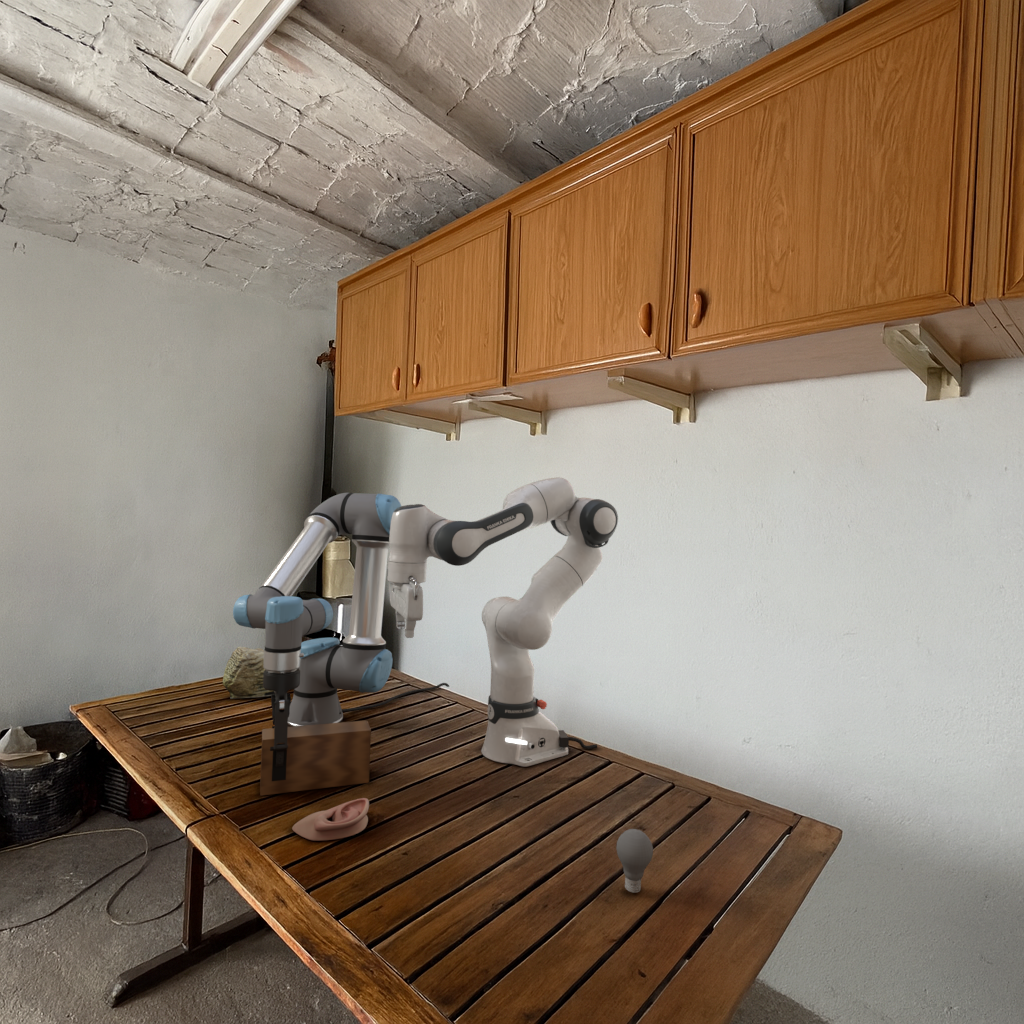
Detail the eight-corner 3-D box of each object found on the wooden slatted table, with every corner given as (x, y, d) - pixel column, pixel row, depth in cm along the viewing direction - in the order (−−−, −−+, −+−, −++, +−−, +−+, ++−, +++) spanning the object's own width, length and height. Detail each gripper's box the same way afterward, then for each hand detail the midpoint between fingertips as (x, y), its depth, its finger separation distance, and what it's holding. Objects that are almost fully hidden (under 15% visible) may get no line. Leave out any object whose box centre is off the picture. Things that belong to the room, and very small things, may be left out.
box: (260, 795, 133) (262, 739, 133) (260, 782, 139) (262, 729, 139) (368, 782, 141) (371, 730, 141) (364, 770, 147) (366, 720, 147)
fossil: (218, 695, 195) (220, 647, 195) (278, 685, 208) (279, 640, 207) (228, 703, 189) (230, 653, 188) (289, 692, 201) (290, 645, 201)
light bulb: (610, 879, 108) (613, 822, 108) (644, 879, 109) (647, 822, 109) (619, 902, 102) (622, 840, 102) (655, 901, 103) (658, 840, 103)
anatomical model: (284, 814, 117) (315, 787, 129) (283, 836, 118) (314, 807, 129) (350, 825, 115) (376, 796, 126) (349, 847, 115) (375, 816, 126)
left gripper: (303, 684, 127) (299, 789, 127) (297, 654, 150) (293, 743, 150) (263, 686, 124) (258, 794, 124) (263, 656, 147) (259, 746, 147)
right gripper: (431, 579, 139) (428, 642, 139) (411, 568, 158) (408, 623, 158) (402, 579, 137) (400, 643, 137) (385, 568, 156) (383, 624, 156)
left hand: (278, 766), depth 137 cm, fingers open, 13 cm apart
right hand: (404, 632), depth 148 cm, fingers open, 8 cm apart
